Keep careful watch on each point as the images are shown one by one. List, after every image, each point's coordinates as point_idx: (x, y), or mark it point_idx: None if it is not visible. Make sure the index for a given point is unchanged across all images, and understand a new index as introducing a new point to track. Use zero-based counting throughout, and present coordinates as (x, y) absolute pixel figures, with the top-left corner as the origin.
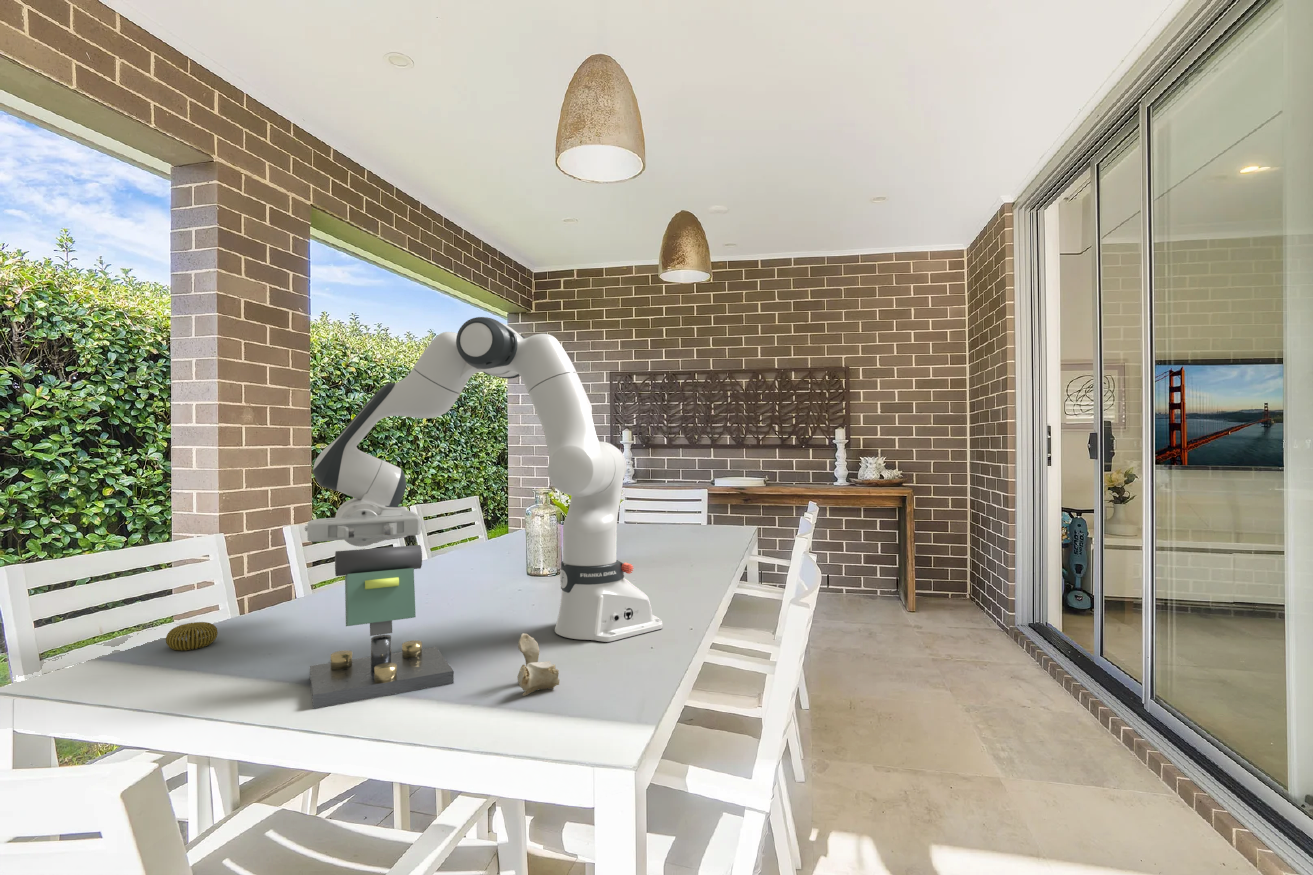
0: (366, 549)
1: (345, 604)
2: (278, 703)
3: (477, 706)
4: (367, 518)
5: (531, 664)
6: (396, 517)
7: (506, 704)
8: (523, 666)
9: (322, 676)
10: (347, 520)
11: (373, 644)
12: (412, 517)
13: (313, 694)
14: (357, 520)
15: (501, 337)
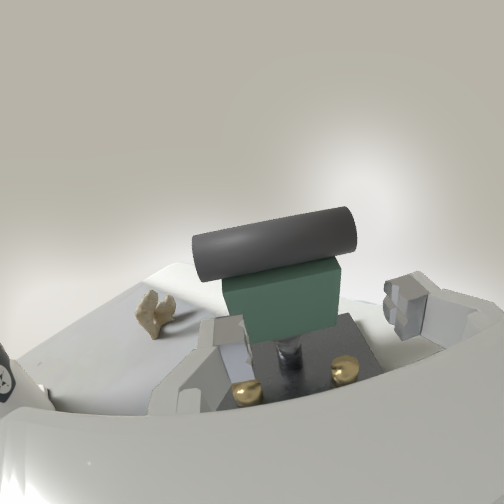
0: (294, 215)
1: (338, 303)
2: (387, 334)
3: (212, 310)
4: (403, 477)
5: (159, 301)
6: (101, 462)
7: (192, 310)
8: (168, 296)
9: (356, 348)
10: (502, 337)
11: None
12: (30, 414)
13: (348, 313)
14: (444, 358)
15: None
